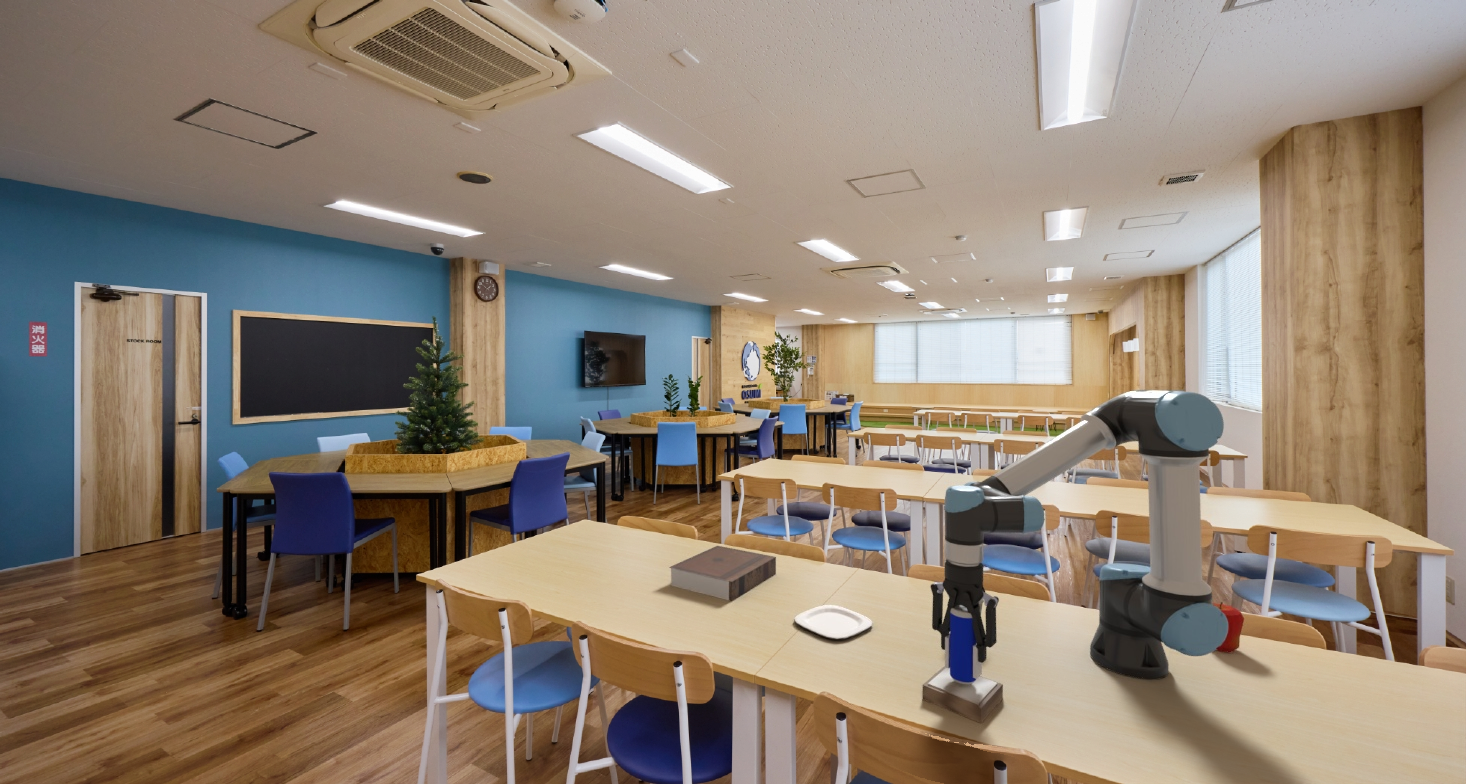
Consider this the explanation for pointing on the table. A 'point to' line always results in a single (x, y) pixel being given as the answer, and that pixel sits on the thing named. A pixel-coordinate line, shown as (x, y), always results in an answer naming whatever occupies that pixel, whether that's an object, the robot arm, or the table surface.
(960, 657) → the beverage can
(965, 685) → the stand
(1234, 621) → the apple
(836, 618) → the plate
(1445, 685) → the table surface
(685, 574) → the book
